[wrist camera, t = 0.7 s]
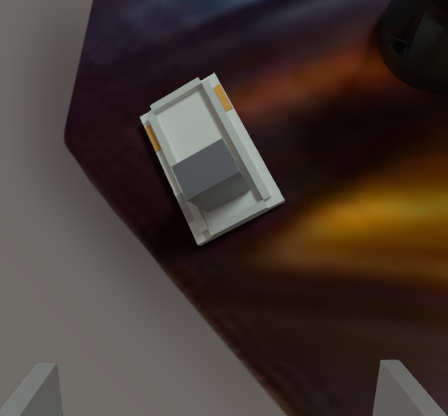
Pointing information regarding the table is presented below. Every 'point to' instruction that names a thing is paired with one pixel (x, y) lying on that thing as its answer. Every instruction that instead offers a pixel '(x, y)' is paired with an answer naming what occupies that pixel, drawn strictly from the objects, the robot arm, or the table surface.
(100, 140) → the table surface
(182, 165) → the switch tab
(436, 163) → the table surface
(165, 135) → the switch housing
